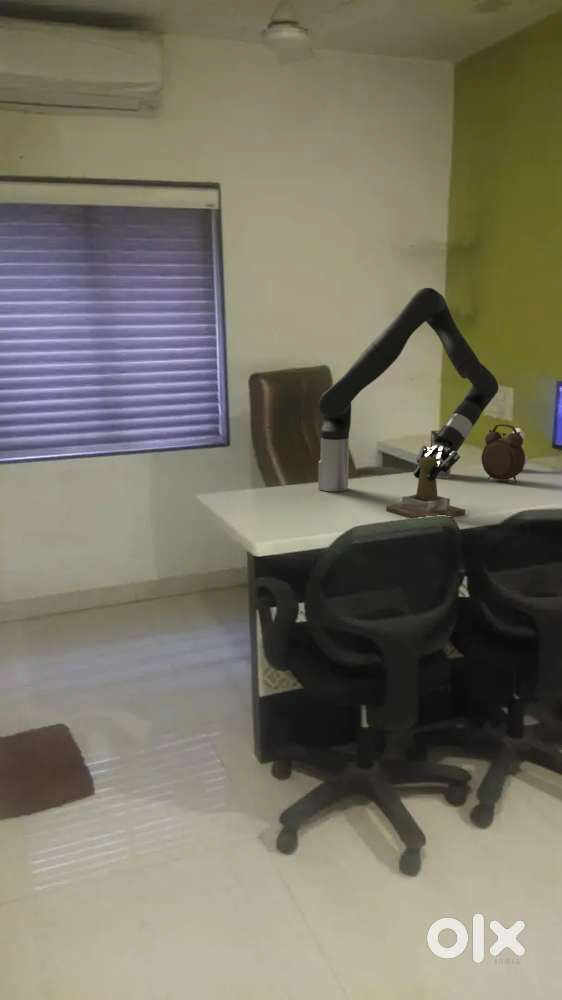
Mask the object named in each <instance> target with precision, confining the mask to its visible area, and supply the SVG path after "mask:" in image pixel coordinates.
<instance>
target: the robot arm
mask: <svg viewBox="0 0 562 1000" xmlns="http://www.w3.org/2000/svg"><path fill="white" fill-rule="evenodd" d="M425 322H426V323H427V324H428V325H429V327H430V328H431V329H432V330H433V331H434V333H435V334H436V335H437V337H438V339H439V341H440V342H441V344H442V346H443V348H444V351H445V353H446V356H447V358H448V359H449V361H450V362H451V365H452V366H453V367H454V369H455V371H456V372H457V374H458V375H459V377H461V378H462V379H467V380H468V381H469V382H470V383H471V387H470V389H469V390H468V392H467V394H466V395H465V397H464V398H463V400H462V401H461V403H460V404H459V405H458V406H457V407H456V409H455V410H454V411H453V413H452V414H451V415H450V416H449V418H448V419H447V420H446V421H445V423H444V424H443V426H442V427H441V429H439V430H438V431H439V433H438V434H437V436H436V437H435V443H434V444H433V445H431V444H430V446H426V445H425V444H424V445H422V447H421V449H420V450H419V453H418V455H417V456H416V459H415V461H416V462H417V464H418V465H417V467H416V468H415V470H414V471H413V476H414V477H415V478H416V479H419V475H420V469H421V468H420V467H419V460H420V458H422V457H434V458H435V459H436V464H435V467H433V469H432V470H431V472H430V473H429V474H428V476H427V478H428V480H429V481H433V480H434V479H435V478H436V477H437V476H438V474H439V473H440V472H442V471H444V470H445V471H448V470H449V469H450V468H452V467H453V466H454V465H455V464H456V463H457V462H458V461H459V459H461V456H460V454H459V453H458V451H459V449H460V448H461V446H462V445H463V444H464V442H465V441H466V439H467V438H468V436H469V435H470V433H471V431H472V429H473V428H474V426H475V425H476V423H477V422H478V420H479V419H480V417H481V415H482V413H483V412H484V411H485V409H486V407H488V405H489V404H490V403H491V401H492V400H493V398H495V396H496V395H497V393H498V391H499V383H498V381H497V379H496V376H495V375H494V374H493V373H492V372H491V371H490V370H489V369H488V368H487V367H486V366H485V365H483V364H482V363H481V362H480V360H479V358H478V357H477V355H476V353H475V352H474V350H473V349H472V347H471V346H470V344H469V343H468V342H467V340H466V339H465V338H464V336H463V334H462V333H461V331H460V329H459V328H458V326H457V325H456V323H455V320H454V318H453V317H452V314H451V312H450V309H449V307H448V305H447V302H446V299H445V296H443V295H442V294H441V293H440V292H438V291H437V290H435V289H434V288H431V287H423V288H420V289H419V290H418V291H416V292H415V293H414V294H413V295H412V297H411V298H410V300H409V301H408V302H407V304H406V305H405V306H404V307H403V309H402V310H401V311H400V313H399V314H398V315H397V316H396V317H395V318H394V320H392V321H391V322H390V324H389V325H388V326H387V327H386V328H385V329H383V331H382V332H381V333H380V334H379V335H378V336H377V337H376V338H375V339H374V340H373V341H372V342H370V344H369V345H368V346H367V347H366V348H365V350H363V352H362V353H361V354H360V355H359V356H358V358H357V359H356V360H355V361H354V362H353V364H352V365H351V366H350V367H349V369H348V370H347V371H346V373H345V374H343V376H342V377H341V378H340V379H339V380H337V381H336V382H335V383H334V384H332V385H331V387H329V389H327V390H326V391H324V392H322V395H321V396H320V397H319V401H318V409H319V411H320V414H321V415H322V416H323V422H322V426H321V429H320V460H318V488H317V489H318V491H319V490H320V491H321V490H322V491H325V492H334V493H335V492H337V493H338V492H345V491H347V490H348V489H349V449H350V448H349V447H350V446H349V445H350V443H349V442H350V429H351V421H352V419H351V418H352V402H353V401H354V399H355V398H356V397H357V395H358V394H360V393H361V391H363V390H364V389H365V388H366V387H368V386H369V385H371V383H373V382H374V381H375V380H376V379H378V378H379V377H380V376H382V375H383V374H384V373H385V372H386V371H387V370H388V369H389V368H390V367H391V366H392V365H393V364H394V363H395V362H396V361H397V359H399V357H400V355H401V353H402V351H404V348H405V347H406V344H407V343H408V341H409V339H410V338H411V336H412V335H414V333H415V332H416V330H418V329H419V328H420V326H422V325H423V324H424V323H425ZM448 462H449V464H448V465H447V466H446V464H447V463H448ZM436 479H437V478H436Z"/></svg>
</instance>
